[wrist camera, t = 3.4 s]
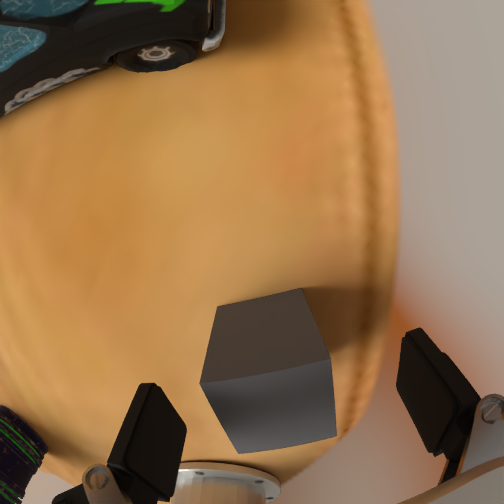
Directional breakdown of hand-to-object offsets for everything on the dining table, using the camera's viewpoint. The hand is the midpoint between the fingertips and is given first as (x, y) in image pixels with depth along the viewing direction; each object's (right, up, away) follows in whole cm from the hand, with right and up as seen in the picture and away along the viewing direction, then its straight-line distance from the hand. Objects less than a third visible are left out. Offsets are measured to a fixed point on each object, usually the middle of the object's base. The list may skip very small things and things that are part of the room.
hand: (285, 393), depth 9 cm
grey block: (0, 0, +6) cm, 6 cm away
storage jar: (-34, -20, +12) cm, 41 cm away
